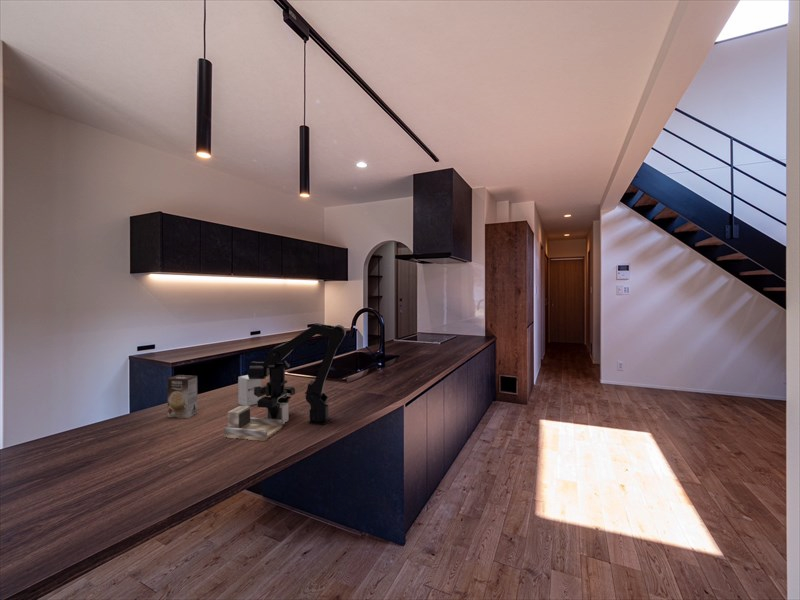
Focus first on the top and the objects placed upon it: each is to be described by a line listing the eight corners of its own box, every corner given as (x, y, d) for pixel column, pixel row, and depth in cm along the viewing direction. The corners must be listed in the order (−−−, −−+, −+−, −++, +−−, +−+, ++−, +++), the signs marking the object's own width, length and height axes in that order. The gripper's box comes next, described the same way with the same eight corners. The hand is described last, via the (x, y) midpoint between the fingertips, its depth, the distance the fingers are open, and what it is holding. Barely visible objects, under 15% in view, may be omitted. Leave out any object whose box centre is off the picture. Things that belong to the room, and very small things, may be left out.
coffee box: (166, 417, 141) (166, 378, 140) (178, 412, 147) (177, 374, 147) (187, 418, 140) (187, 379, 140) (198, 413, 146) (198, 375, 146)
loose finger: (272, 419, 140) (272, 401, 140) (288, 420, 139) (288, 403, 139) (266, 423, 135) (265, 405, 135) (282, 424, 134) (282, 406, 134)
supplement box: (246, 407, 154) (246, 378, 154) (237, 403, 158) (237, 376, 158) (261, 402, 160) (261, 375, 159) (253, 399, 164) (252, 373, 164)
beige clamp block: (282, 427, 131) (282, 406, 131) (265, 441, 120) (264, 417, 119) (244, 424, 134) (243, 403, 134) (223, 437, 123) (223, 414, 122)
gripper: (271, 372, 147) (271, 408, 148) (244, 384, 129) (244, 425, 129) (295, 373, 145) (295, 410, 146) (271, 385, 127) (271, 427, 127)
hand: (277, 418), depth 137 cm, fingers closed on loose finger, 5 cm apart
